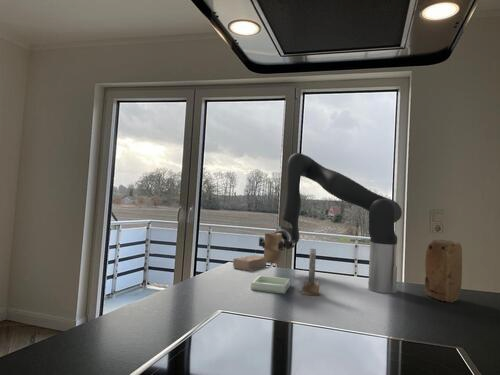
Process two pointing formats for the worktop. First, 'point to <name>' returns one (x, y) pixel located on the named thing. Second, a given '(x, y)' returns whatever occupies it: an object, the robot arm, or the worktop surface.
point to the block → (443, 270)
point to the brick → (249, 262)
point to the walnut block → (272, 247)
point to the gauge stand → (311, 277)
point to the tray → (270, 284)
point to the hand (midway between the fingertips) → (271, 245)
